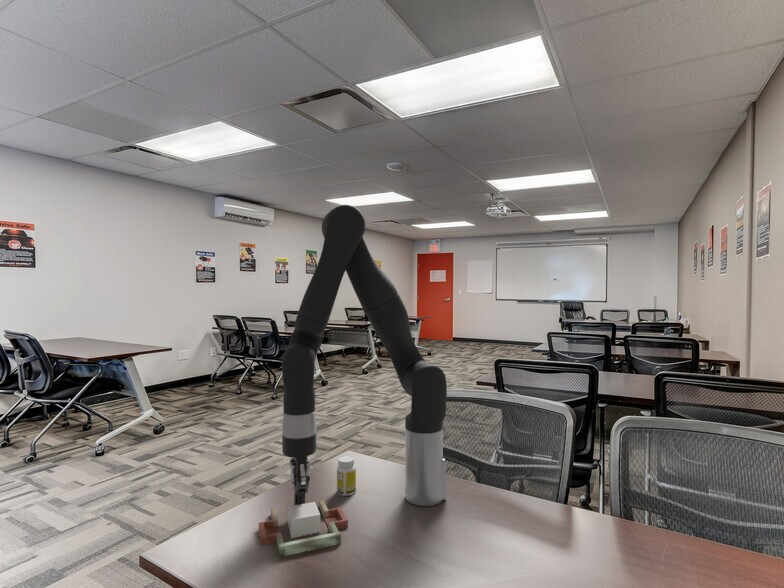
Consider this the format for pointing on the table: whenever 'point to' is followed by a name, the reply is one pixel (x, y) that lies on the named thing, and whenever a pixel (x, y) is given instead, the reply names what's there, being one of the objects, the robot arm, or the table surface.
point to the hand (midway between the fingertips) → (299, 508)
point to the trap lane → (334, 521)
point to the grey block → (303, 519)
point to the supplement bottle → (346, 476)
